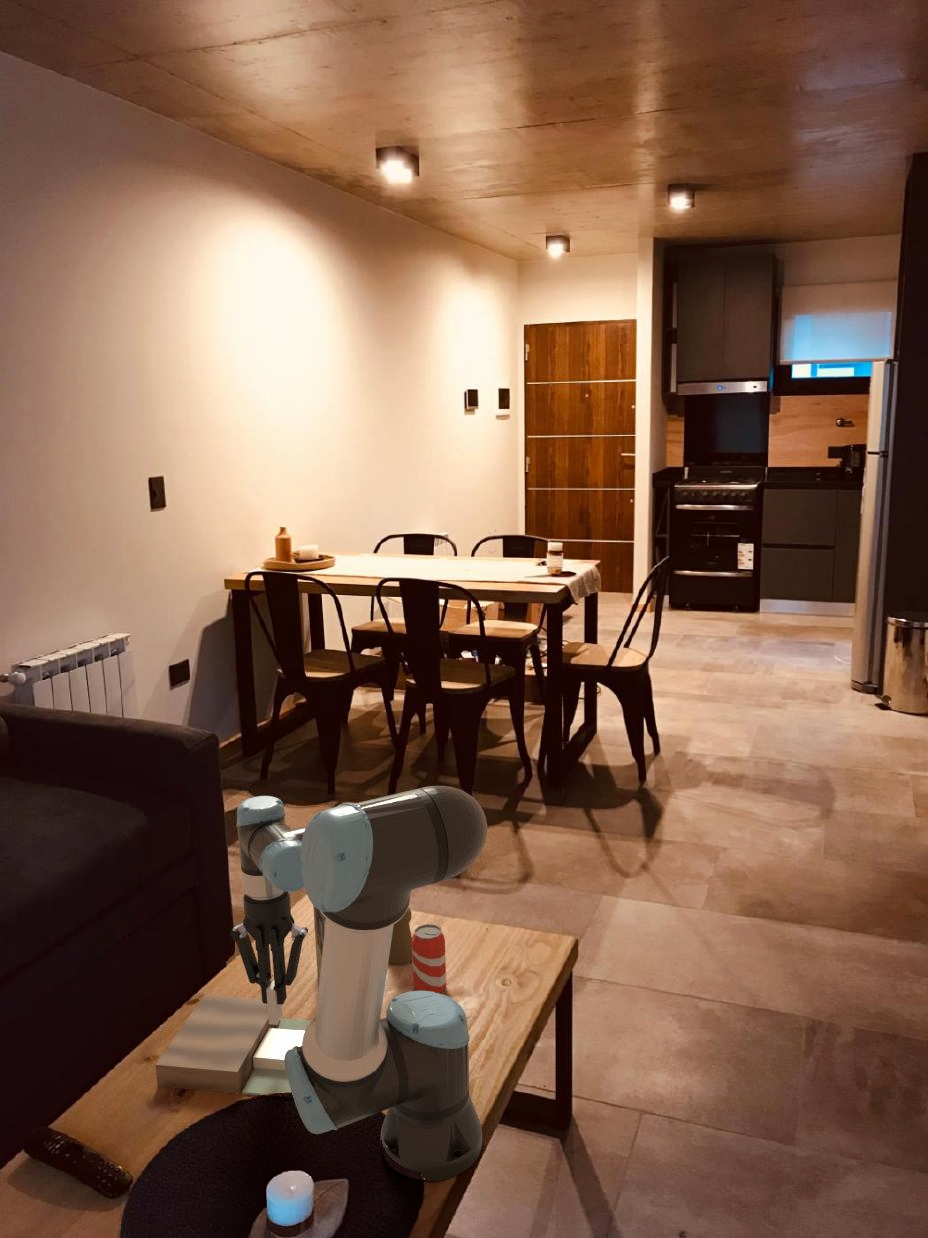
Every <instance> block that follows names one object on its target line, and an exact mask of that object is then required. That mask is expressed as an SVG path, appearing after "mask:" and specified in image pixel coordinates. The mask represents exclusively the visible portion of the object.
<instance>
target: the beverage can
mask: <svg viewBox="0 0 928 1238" xmlns="http://www.w3.org/2000/svg"><path fill="white" fill-rule="evenodd" d="M413 931H414V932H413V935H411V937H412V961H413V962H412V982H413V983H412V985H413V990H414V991H431V992H435V993H439V994H442V992H443V991H444V990H445V989H446V988H447V969H446V968H447V966H446V961H447V959H446V938H445V935H444V933H443V932H442V927H440V926H438V925H437V924H433V923H432V924H431V923H430V924H429V923H425V924H421V925H419V926H417V927H416V928H415V929H414V930H413Z"/></svg>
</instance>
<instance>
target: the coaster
mask: <svg viewBox="0 0 928 1238" xmlns="http://www.w3.org/2000/svg"><path fill="white" fill-rule="evenodd" d="M304 1032H305V1031H300V1030H287V1029H277V1028H275V1029H274V1028H269V1029H268V1031H267V1033H266V1035H265V1037H264V1038H263V1040H262V1042H261V1044H260V1045H259V1047H258V1049H257V1051H256V1053H255V1054H254V1056H253V1064H254V1068H253V1069H255V1068H263V1069H275V1070H286V1068H285V1061H284V1057H285V1054H286V1052H287V1051H288V1050H290V1049H292V1048H293V1047H294V1046H298V1047H299V1046H302V1040H303V1035H304Z"/></svg>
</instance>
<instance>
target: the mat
mask: <svg viewBox="0 0 928 1238" xmlns="http://www.w3.org/2000/svg"><path fill="white" fill-rule="evenodd" d="M312 1020H313V1019H312ZM312 1020H311V1019H310V1020H309V1019H299V1018H298V1019H297V1018H286V1017H283V1018H281V1019H280V1021H279V1023H278V1025H277V1026H276V1029H287V1030H300V1031H305V1030H306V1028H307V1026H308V1025H309V1023H310V1022H311V1021H312ZM253 1069H254V1070H252V1072H251V1074H250V1075H249V1077H248V1078H249V1079H247V1081H246V1083H245V1084H244V1086H243V1087H244V1088H242V1089H243V1090H241V1094H242V1093H243V1094H242V1095H247V1094H251V1095H250V1096H258V1095H260V1094H267V1093H285V1092H291V1089H290V1085H289V1081H288V1077H287V1073H286V1070H275V1069H263V1068H253ZM245 1093H246V1094H245Z"/></svg>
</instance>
